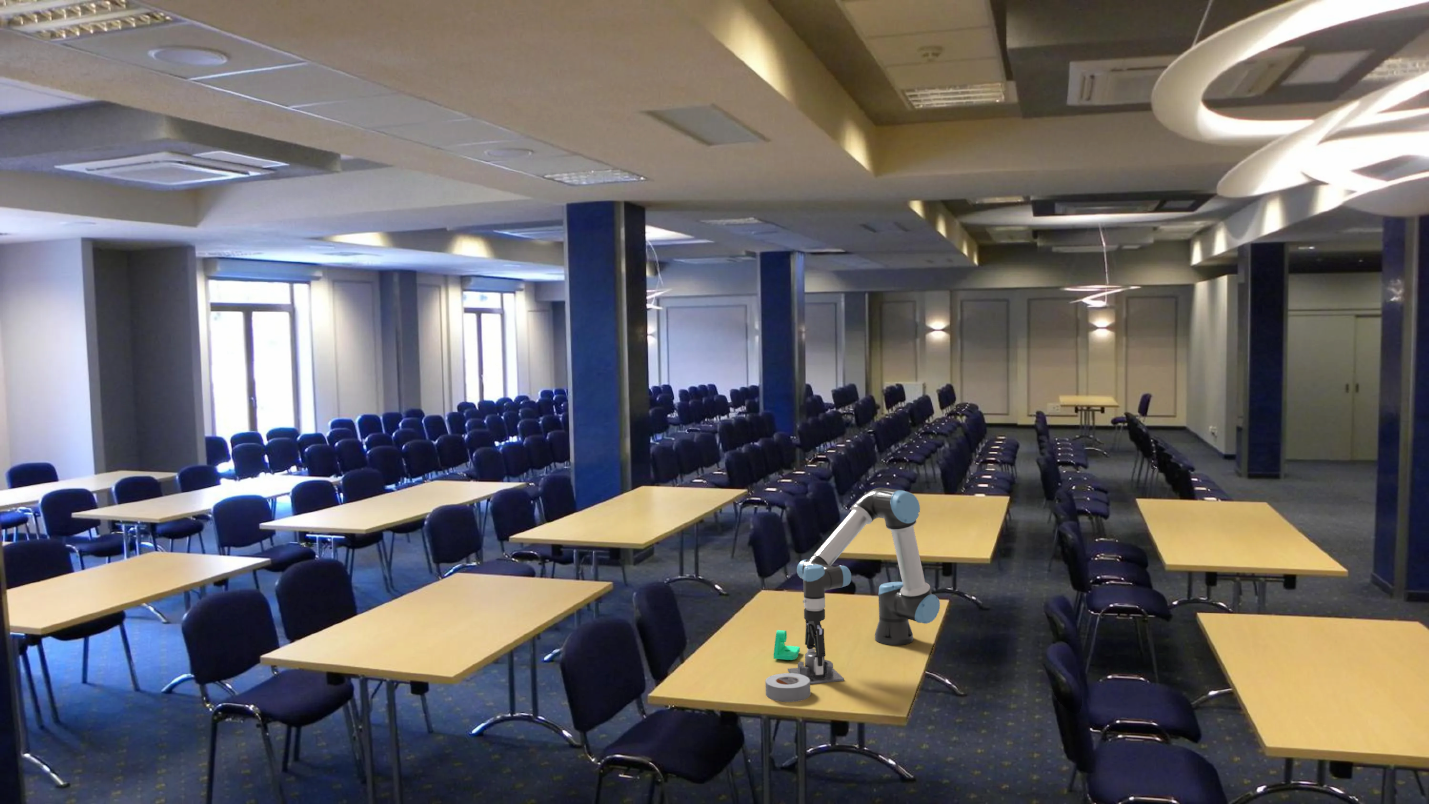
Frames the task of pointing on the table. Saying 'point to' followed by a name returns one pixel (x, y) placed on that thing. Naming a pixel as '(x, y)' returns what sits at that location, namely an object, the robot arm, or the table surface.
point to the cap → (812, 662)
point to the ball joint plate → (827, 676)
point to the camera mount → (784, 647)
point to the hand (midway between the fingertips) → (815, 670)
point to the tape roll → (787, 687)
